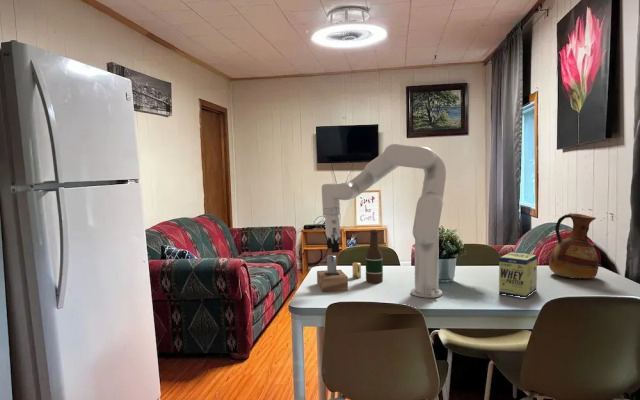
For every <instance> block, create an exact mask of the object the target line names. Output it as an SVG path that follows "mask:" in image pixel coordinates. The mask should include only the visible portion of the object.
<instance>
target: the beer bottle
mask: <svg viewBox="0 0 640 400" xmlns="http://www.w3.org/2000/svg"><path fill="white" fill-rule="evenodd" d="M369 234H370V235H369V236H370V237H369V247H368V249H367V250H366V253H365V280H366V281H365V282H367V283H369V284H381V283H383V282H384V281H383V280H384V279H383V278H384V276H383V275H384V271H383V270H384V268H383V267H384V266H383V265H384V264H383V262H384V261H383V260H384V258H383V257H384V256H383V253H382V250H381V249H380V247H379V237H378V234H379V231H378V230H377V229H370V231H369Z"/></svg>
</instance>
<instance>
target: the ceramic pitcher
mask: <svg viewBox="0 0 640 400" xmlns="http://www.w3.org/2000/svg"><path fill="white" fill-rule="evenodd" d="M565 219H571V220H572V230H571V233H570V235H569V236H568V237H566V238H562V237H561V234H560V226H561V224H562V222H563V221H564V220H565ZM596 219H597V217H595V216H590V215H586V214H581V213H575V212H574V213H573V212H572V213H571V212H570V213H568V214H564V215H562V216H560V217H559V218H558V220H557V222H556V223H555V229H554V230H555V234H556V238H557V244H556V246H554V248H553V250H552V251H551V254H550V257H549V261H548V267H549V269H550V271H551V272H553V274H556V275H558V276H560V277H562V276H564V277H563V278H566V277H573V278H572V279H575V278H579V279H581V278H584V279H592V278H595V277H596V276H598V275H597V274H598V271H599V257H598V253H597V251H596V249H595V247H594V245H593V244H592V243H591V242H590V241H589V237H588V233H589V230H590V224H591V223H592V222H593V221H595V220H596Z"/></svg>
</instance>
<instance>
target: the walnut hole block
mask: <svg viewBox="0 0 640 400" xmlns="http://www.w3.org/2000/svg"><path fill="white" fill-rule="evenodd" d="M348 281H349V277H348V275H347V274H346V273H345V272H344V271H343V270H341V269H336V275H332V276H327V269H326V270H317V271H316V283H317V285H318V287H319V289H320V291H321V292H322V293H334V292H346V291H347V292H348V291H349V282H348Z"/></svg>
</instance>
